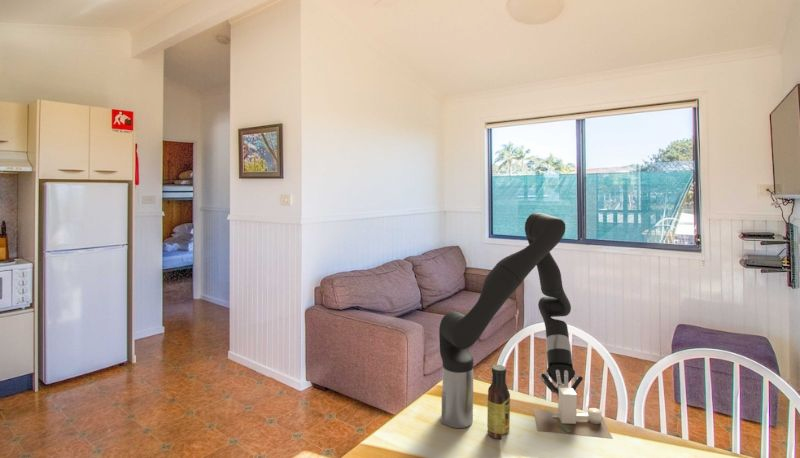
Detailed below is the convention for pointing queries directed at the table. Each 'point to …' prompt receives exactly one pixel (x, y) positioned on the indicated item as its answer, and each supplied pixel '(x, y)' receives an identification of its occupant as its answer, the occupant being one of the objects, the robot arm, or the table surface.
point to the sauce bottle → (498, 404)
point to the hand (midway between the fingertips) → (564, 407)
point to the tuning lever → (574, 408)
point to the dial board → (569, 425)
